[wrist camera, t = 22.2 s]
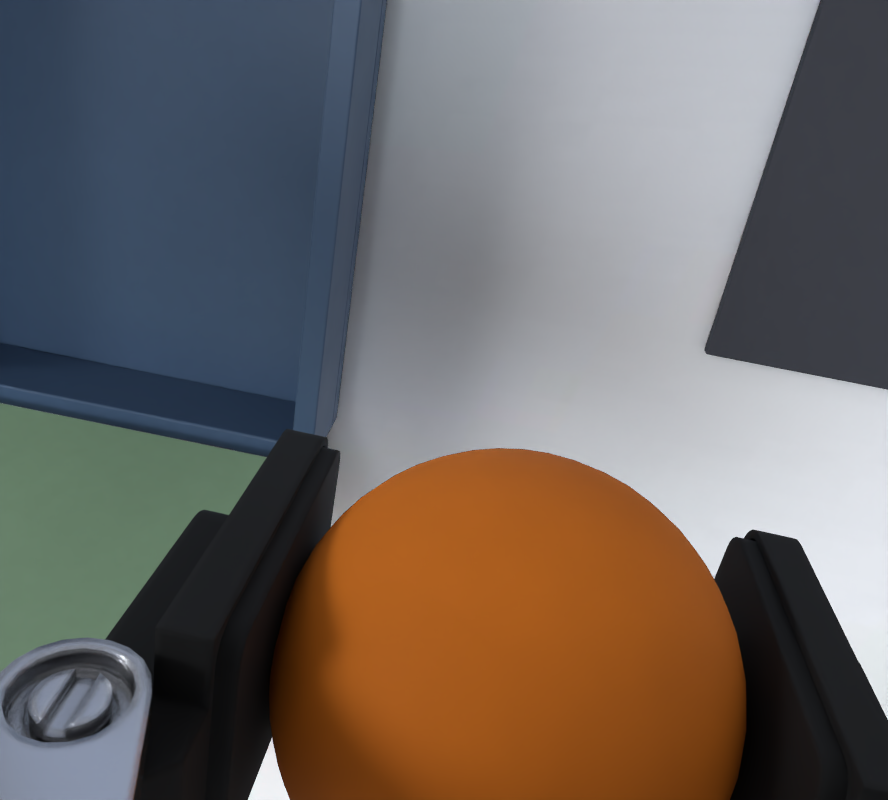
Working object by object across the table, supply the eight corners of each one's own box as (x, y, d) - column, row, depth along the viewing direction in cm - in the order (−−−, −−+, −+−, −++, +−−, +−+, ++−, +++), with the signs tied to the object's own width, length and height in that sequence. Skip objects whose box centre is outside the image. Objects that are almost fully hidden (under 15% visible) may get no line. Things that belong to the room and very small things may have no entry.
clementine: (358, 339, 10) (203, 595, 6) (754, 423, 10) (927, 757, 6) (315, 642, 13) (179, 1003, 8) (639, 714, 13) (695, 1124, 8)
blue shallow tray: (-57, -164, 25) (-156, -195, 22) (397, -81, 25) (372, -99, 21) (-12, 348, 33) (-80, 387, 29) (336, 418, 33) (311, 467, 29)
